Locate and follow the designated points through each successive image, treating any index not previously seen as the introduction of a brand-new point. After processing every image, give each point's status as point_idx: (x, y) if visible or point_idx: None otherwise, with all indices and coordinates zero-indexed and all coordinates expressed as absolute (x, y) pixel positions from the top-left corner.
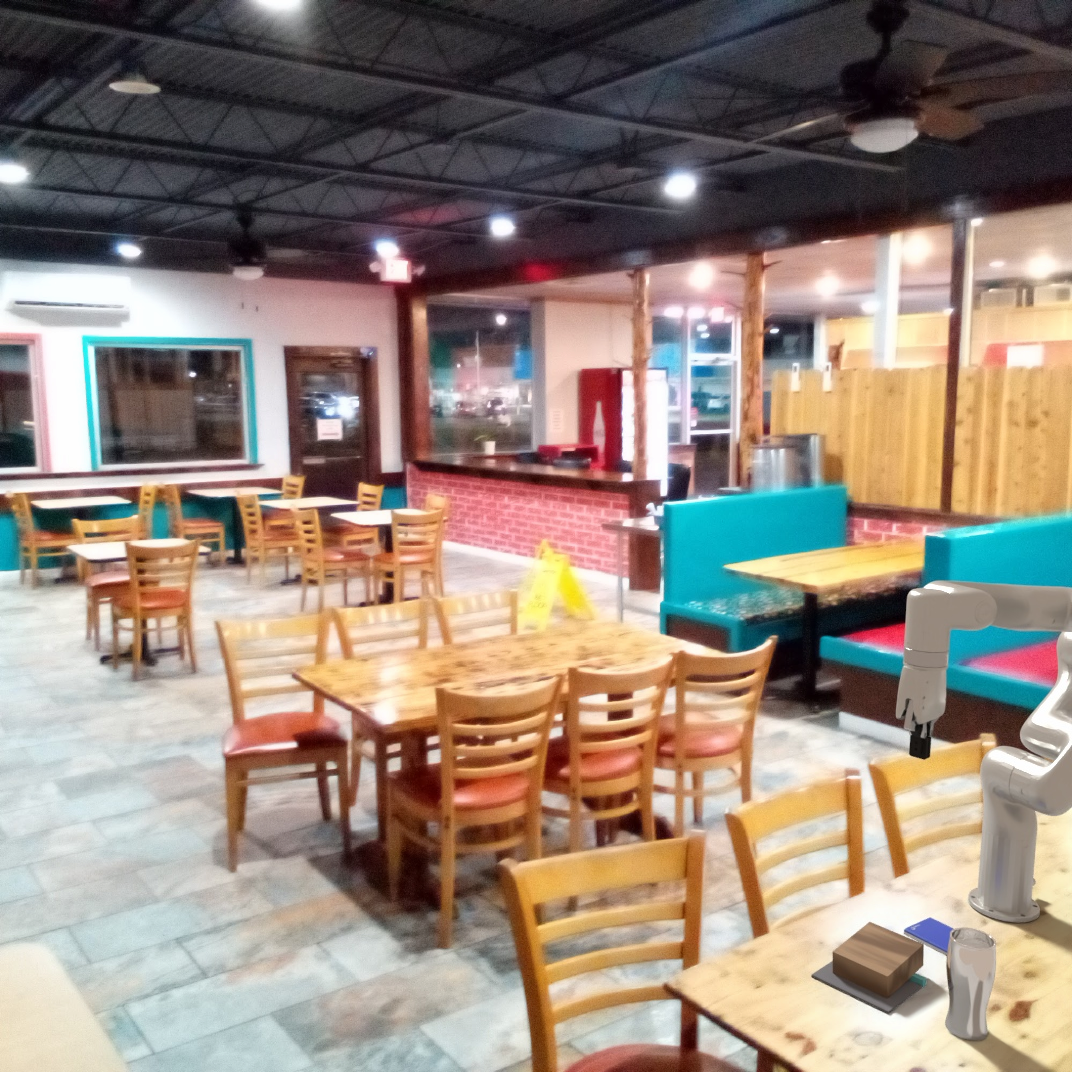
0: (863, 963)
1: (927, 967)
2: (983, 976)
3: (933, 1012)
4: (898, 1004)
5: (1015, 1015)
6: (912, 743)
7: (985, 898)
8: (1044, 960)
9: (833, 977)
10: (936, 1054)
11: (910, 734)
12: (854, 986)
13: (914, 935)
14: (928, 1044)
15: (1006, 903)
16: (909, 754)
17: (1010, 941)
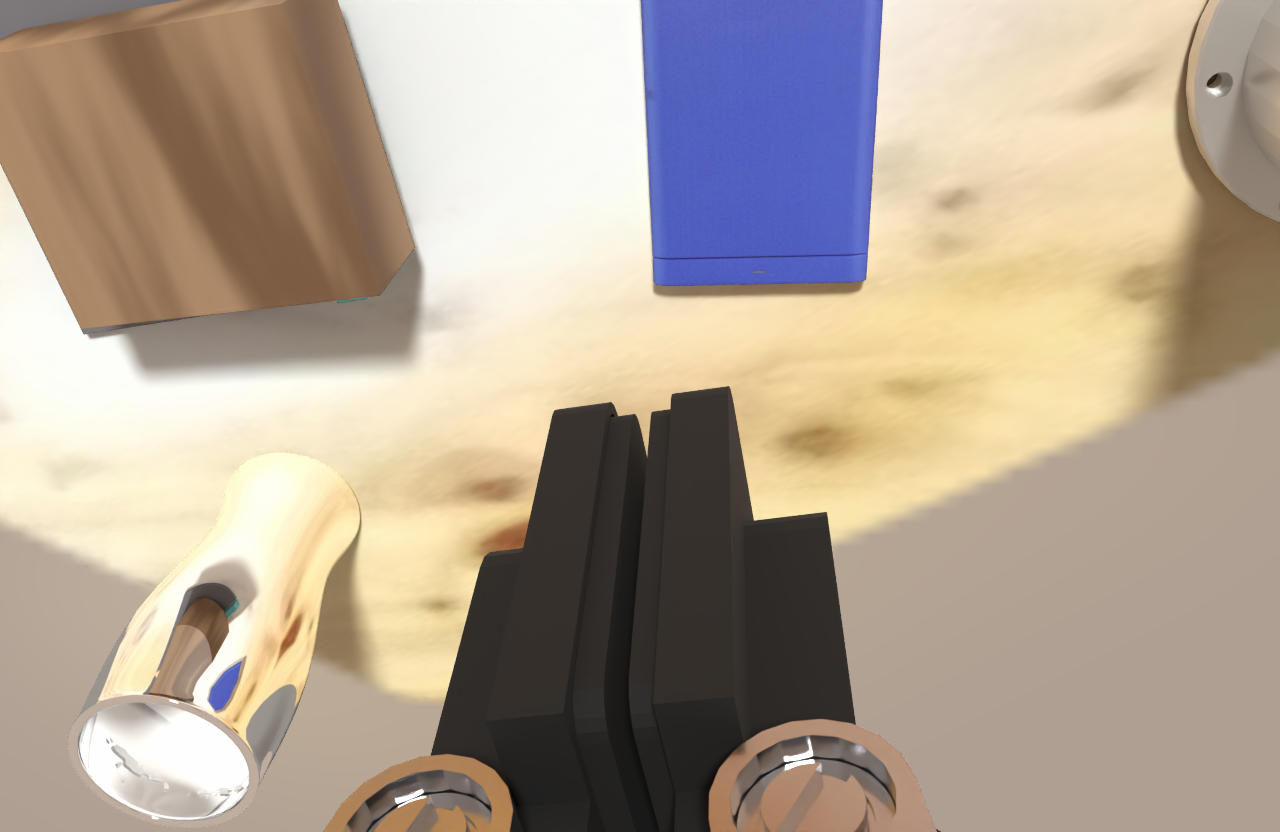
0: (38, 213)
1: (487, 207)
2: (186, 735)
3: (260, 402)
4: (156, 322)
5: (518, 543)
6: (459, 674)
7: (1275, 39)
8: (976, 418)
9: None
10: (100, 529)
11: (361, 820)
12: None
13: (642, 14)
14: (111, 491)
15: (1275, 158)
16: (556, 414)
17: (1022, 266)
